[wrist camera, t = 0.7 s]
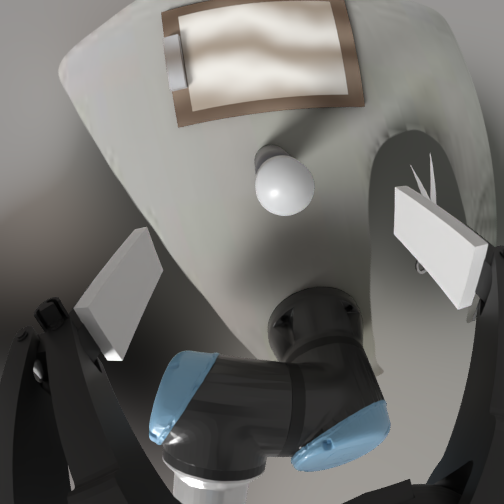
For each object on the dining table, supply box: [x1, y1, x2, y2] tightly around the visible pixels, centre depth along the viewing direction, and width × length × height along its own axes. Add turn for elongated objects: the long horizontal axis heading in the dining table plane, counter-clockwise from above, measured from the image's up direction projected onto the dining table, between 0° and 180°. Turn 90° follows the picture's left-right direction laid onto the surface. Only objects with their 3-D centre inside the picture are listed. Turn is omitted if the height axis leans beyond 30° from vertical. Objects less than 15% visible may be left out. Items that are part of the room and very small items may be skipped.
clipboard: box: [161, 0, 365, 127], centre depth 24 cm, size 16×22×2 cm
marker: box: [255, 145, 315, 216], centre depth 25 cm, size 4×4×14 cm
